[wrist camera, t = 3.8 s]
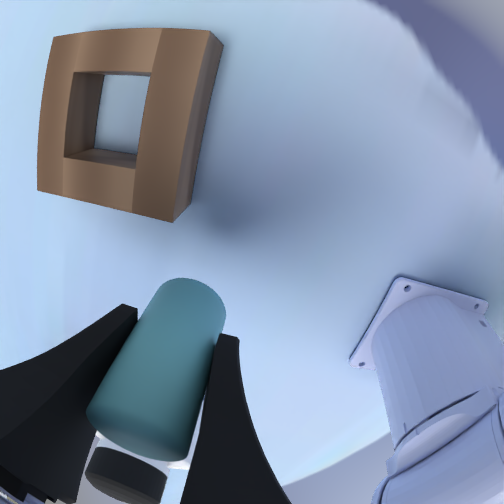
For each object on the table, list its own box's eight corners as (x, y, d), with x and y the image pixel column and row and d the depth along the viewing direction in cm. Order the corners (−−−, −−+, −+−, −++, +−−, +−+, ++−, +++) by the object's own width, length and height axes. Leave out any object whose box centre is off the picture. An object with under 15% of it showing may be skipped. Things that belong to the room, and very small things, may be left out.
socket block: (223, 45, 12) (209, 30, 10) (190, 203, 16) (172, 222, 14) (84, 42, 12) (53, 37, 9) (66, 177, 16) (37, 190, 14)
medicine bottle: (112, 365, 24) (58, 468, 13) (170, 357, 22) (118, 487, 12) (153, 410, 27) (118, 505, 16) (211, 406, 25) (184, 520, 14)
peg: (232, 289, 11) (192, 432, 6) (219, 344, 12) (185, 469, 7) (156, 269, 11) (75, 388, 6) (154, 325, 12) (96, 438, 7)
